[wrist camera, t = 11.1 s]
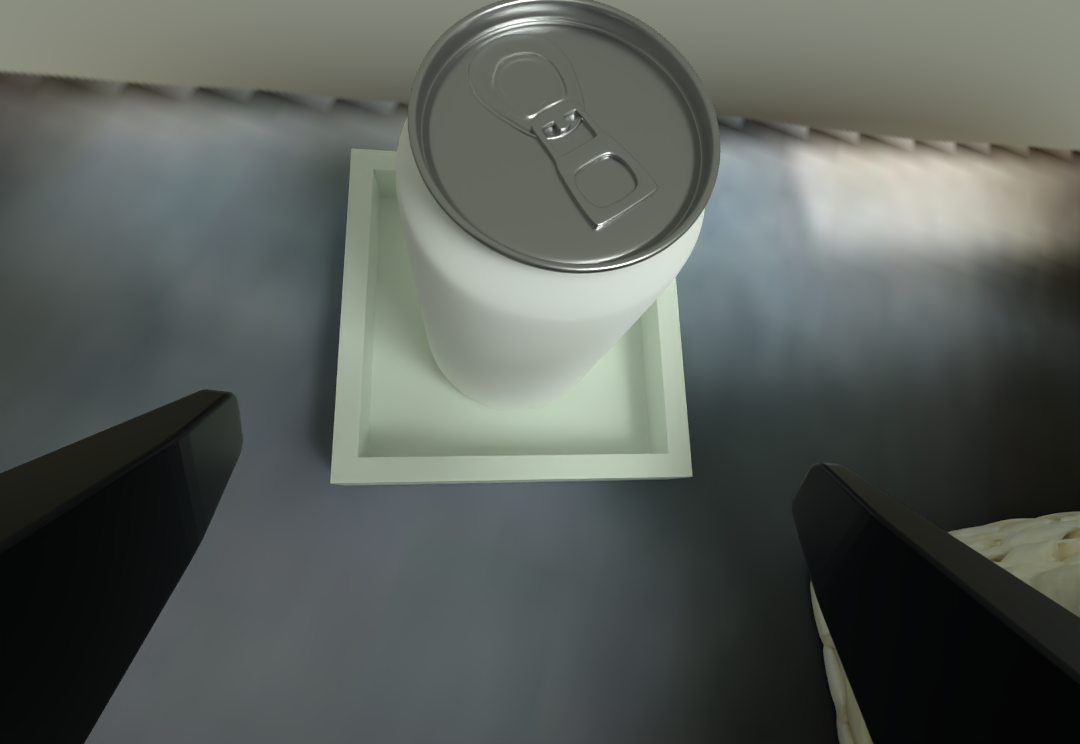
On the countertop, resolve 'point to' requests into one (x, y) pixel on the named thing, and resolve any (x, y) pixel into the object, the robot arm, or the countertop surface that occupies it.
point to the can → (548, 190)
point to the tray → (463, 424)
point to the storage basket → (1015, 545)
